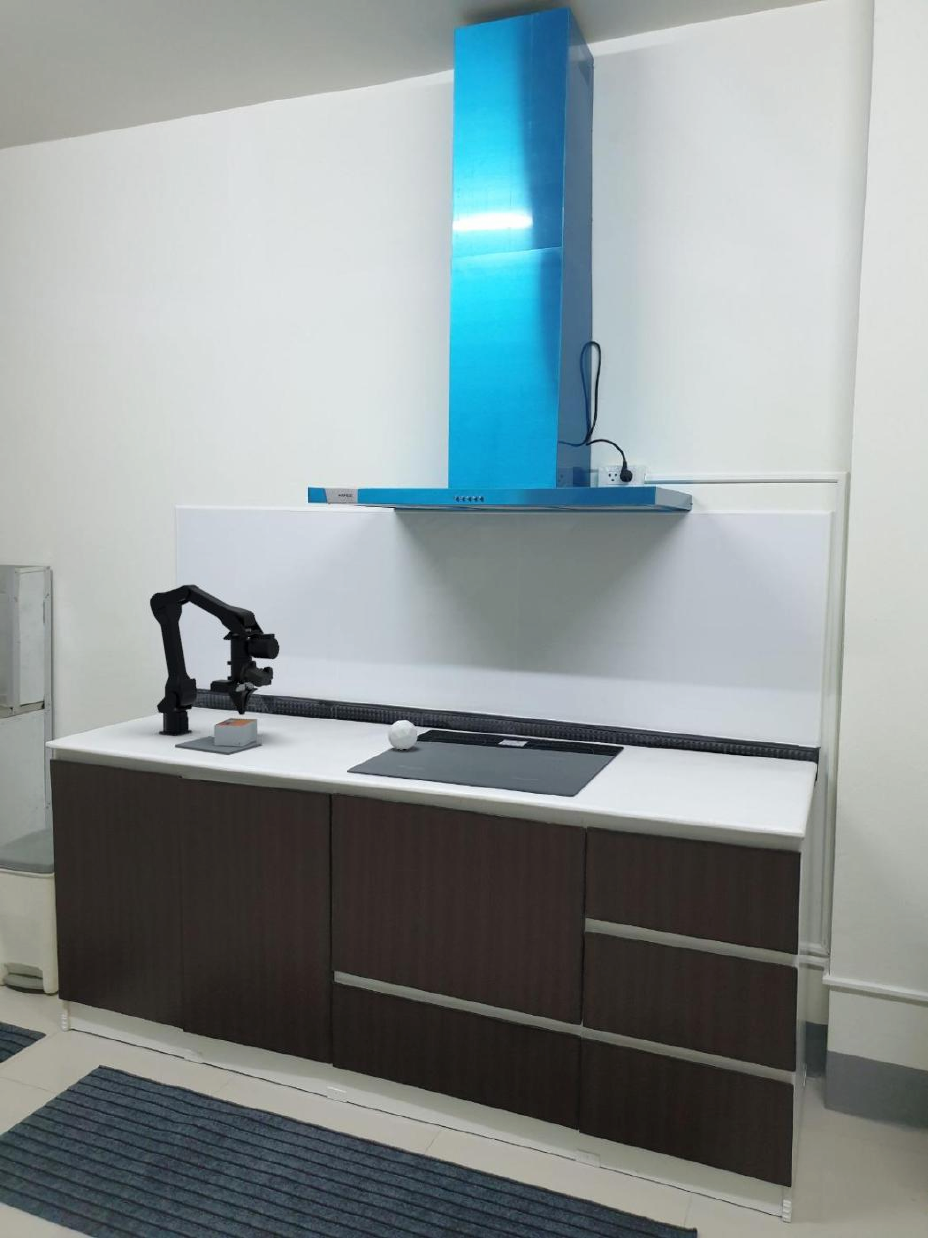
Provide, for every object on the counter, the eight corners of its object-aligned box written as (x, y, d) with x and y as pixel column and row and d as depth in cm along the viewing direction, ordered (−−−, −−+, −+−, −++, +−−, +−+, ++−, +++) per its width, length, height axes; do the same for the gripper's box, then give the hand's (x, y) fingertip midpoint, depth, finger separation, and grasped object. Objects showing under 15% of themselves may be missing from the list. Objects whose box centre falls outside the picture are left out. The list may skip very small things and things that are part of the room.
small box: (257, 718, 258) (243, 726, 247) (257, 739, 258) (243, 747, 248) (229, 717, 259) (213, 724, 248) (229, 738, 259) (213, 746, 249)
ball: (410, 758, 252) (428, 735, 251) (391, 753, 246) (410, 729, 245) (395, 740, 257) (413, 717, 256) (376, 734, 250) (395, 711, 249)
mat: (174, 747, 250) (174, 744, 250) (209, 738, 261) (209, 736, 261) (228, 754, 242) (228, 752, 241) (261, 745, 253) (261, 743, 253)
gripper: (241, 663, 246) (241, 723, 247) (287, 655, 262) (287, 712, 263) (208, 660, 251) (208, 719, 252) (255, 653, 267) (255, 708, 269)
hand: (241, 714), depth 259 cm, fingers closed
